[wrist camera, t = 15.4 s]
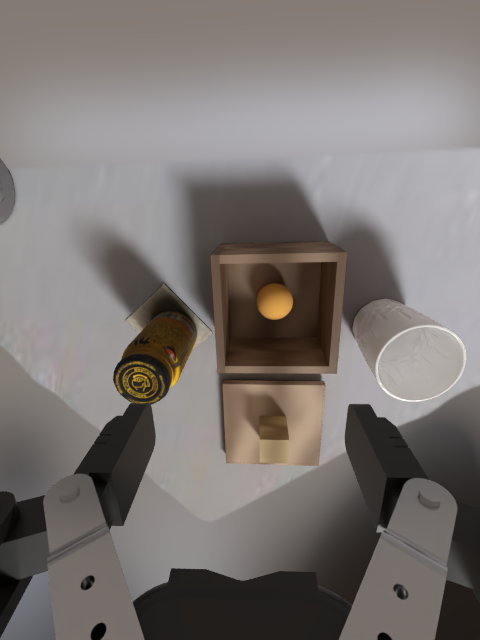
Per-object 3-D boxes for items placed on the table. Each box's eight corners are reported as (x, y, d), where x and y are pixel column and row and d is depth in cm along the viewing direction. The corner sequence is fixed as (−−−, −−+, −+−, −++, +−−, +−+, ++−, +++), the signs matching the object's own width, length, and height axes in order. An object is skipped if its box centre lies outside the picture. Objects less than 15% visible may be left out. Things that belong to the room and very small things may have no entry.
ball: (256, 312, 37) (256, 325, 34) (256, 279, 36) (256, 288, 32) (290, 312, 37) (294, 324, 33) (291, 279, 36) (295, 288, 32)
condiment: (173, 365, 42) (142, 426, 30) (125, 320, 40) (72, 366, 28) (213, 332, 40) (195, 384, 28) (164, 282, 38) (124, 317, 26)
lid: (227, 453, 47) (222, 490, 41) (223, 376, 42) (218, 405, 36) (316, 456, 46) (324, 493, 40) (322, 378, 41) (333, 407, 35)
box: (225, 340, 40) (217, 373, 32) (220, 244, 36) (210, 255, 28) (321, 340, 39) (336, 373, 32) (328, 241, 35) (347, 252, 27)
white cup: (338, 308, 38) (364, 344, 28) (405, 282, 36) (456, 311, 27) (358, 363, 40) (388, 412, 30) (422, 340, 38) (474, 385, 29)
